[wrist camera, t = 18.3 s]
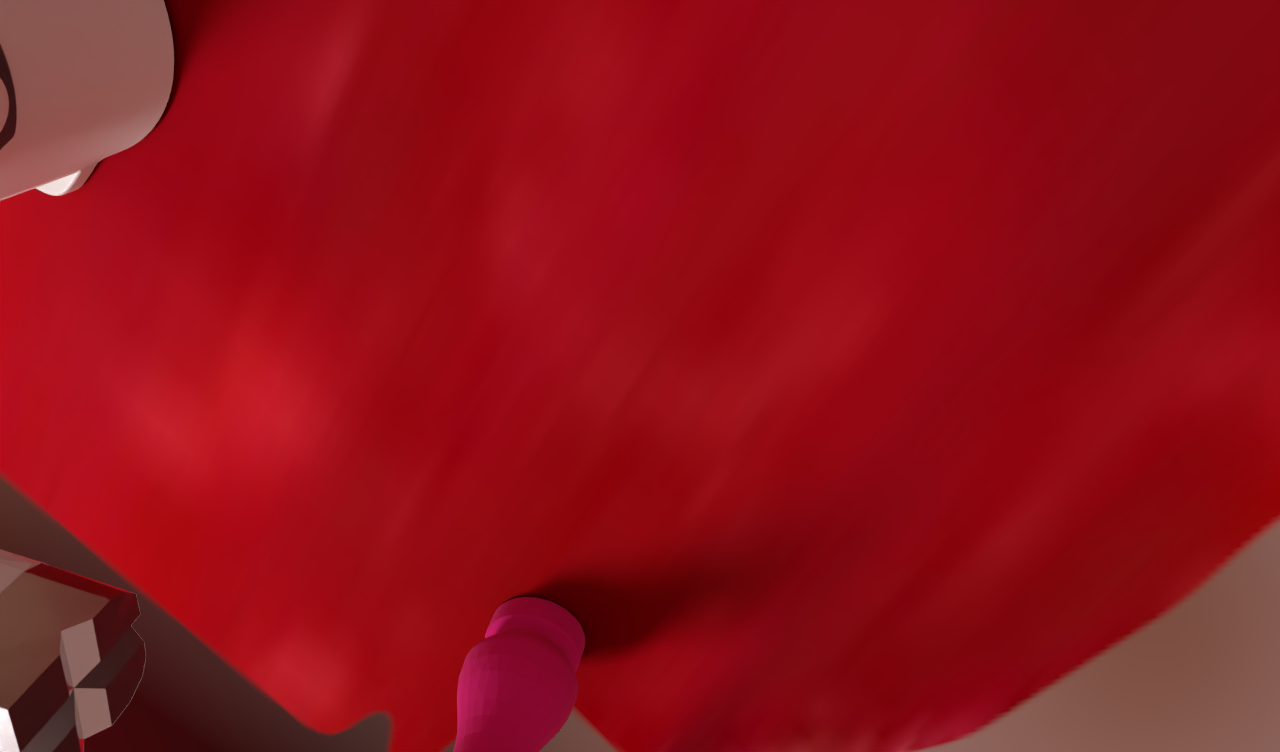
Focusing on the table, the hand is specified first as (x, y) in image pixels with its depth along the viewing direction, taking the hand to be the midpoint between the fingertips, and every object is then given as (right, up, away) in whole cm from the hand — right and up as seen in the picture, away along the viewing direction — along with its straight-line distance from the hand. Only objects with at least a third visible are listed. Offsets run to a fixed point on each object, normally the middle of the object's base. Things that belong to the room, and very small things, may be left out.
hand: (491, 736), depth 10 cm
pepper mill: (-5, -13, +52) cm, 54 cm away
